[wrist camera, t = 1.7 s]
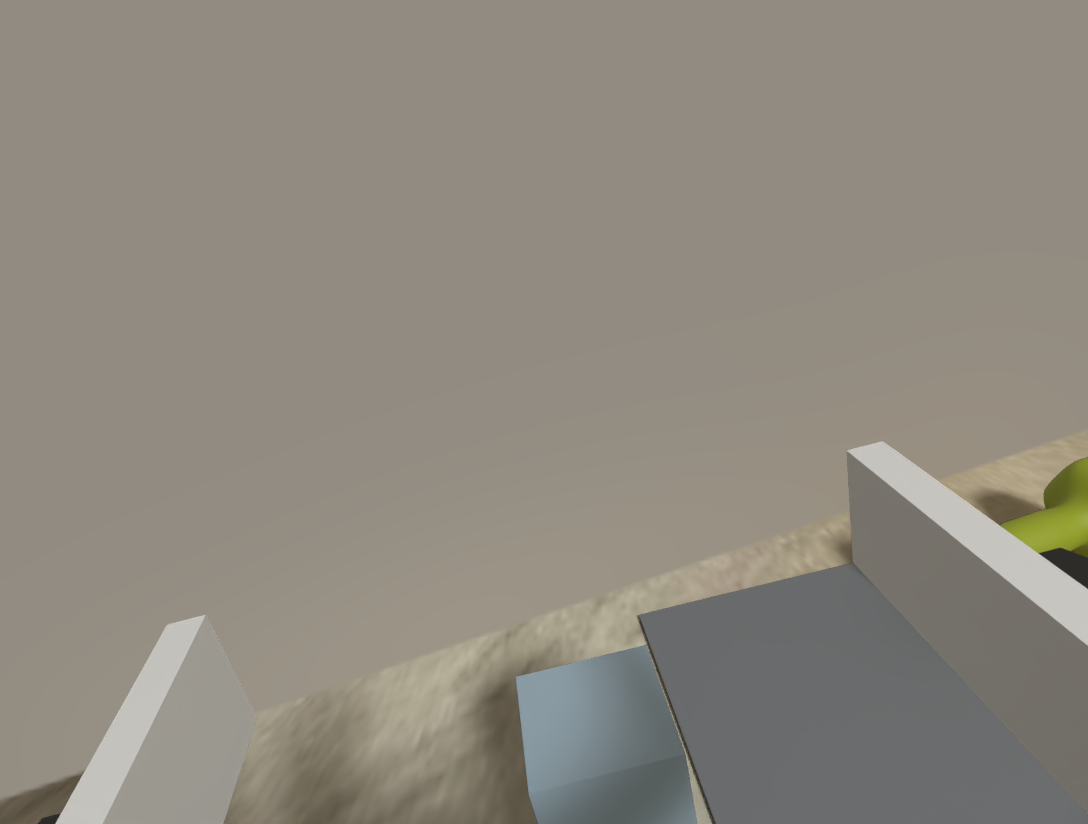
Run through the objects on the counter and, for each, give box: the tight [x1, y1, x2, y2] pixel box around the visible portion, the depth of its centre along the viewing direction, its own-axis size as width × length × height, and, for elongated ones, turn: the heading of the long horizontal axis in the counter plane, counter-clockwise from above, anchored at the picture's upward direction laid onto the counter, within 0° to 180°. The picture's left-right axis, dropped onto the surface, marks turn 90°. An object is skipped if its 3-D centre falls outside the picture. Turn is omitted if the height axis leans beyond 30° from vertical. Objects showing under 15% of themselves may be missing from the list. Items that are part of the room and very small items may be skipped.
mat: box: [639, 563, 1088, 824], centre depth 44 cm, size 20×22×1 cm
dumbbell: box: [1000, 457, 1088, 558], centre depth 48 cm, size 16×8×7 cm, turn 106°
